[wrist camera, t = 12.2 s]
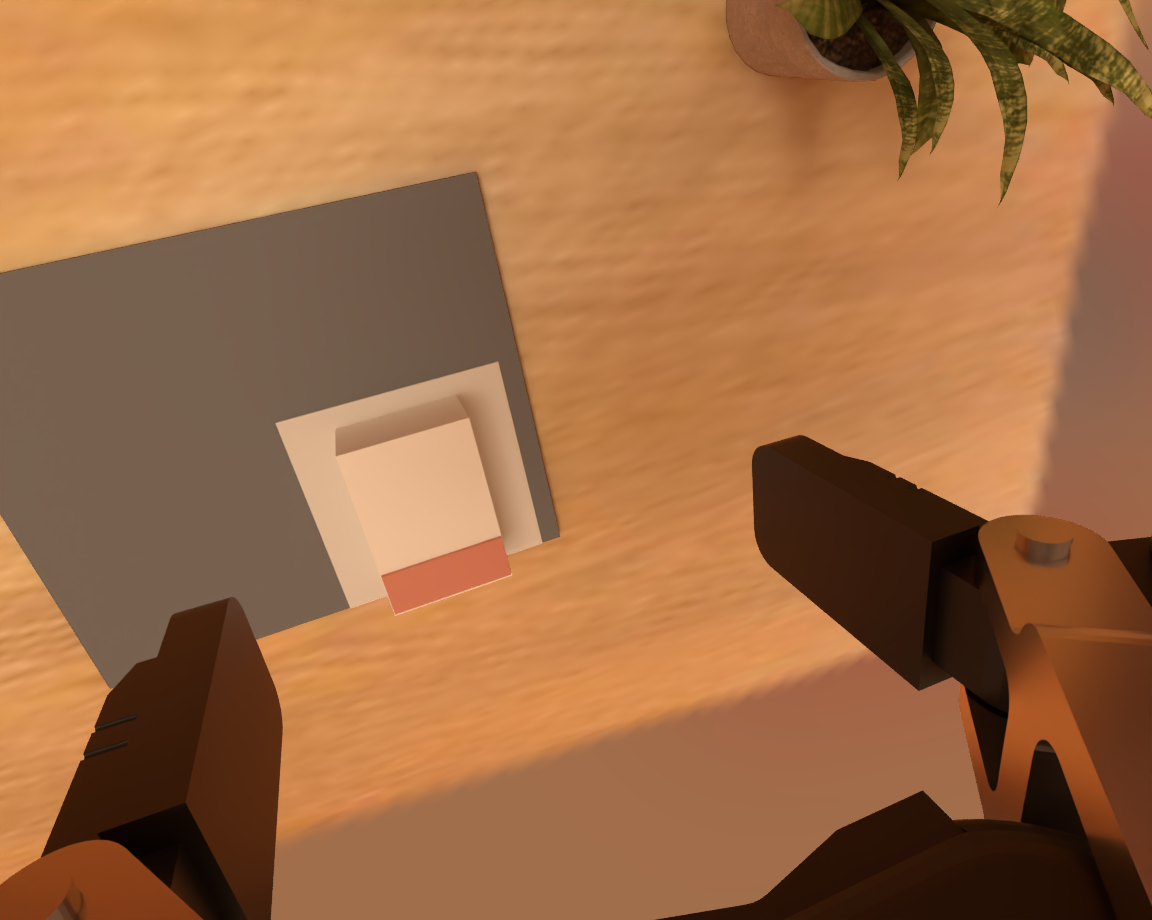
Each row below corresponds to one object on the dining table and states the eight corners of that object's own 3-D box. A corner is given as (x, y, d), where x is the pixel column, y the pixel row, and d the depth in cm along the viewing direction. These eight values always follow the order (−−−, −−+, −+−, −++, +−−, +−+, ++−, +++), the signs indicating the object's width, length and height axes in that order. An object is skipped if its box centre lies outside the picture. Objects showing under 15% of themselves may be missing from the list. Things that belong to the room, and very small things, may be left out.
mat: (113, 680, 32) (109, 690, 32) (-124, 299, 25) (-135, 302, 24) (556, 531, 37) (560, 537, 36) (473, 172, 29) (476, 172, 29)
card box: (335, 428, 30) (335, 458, 27) (455, 394, 32) (469, 419, 28) (389, 576, 34) (395, 618, 31) (496, 540, 35) (513, 577, 32)
